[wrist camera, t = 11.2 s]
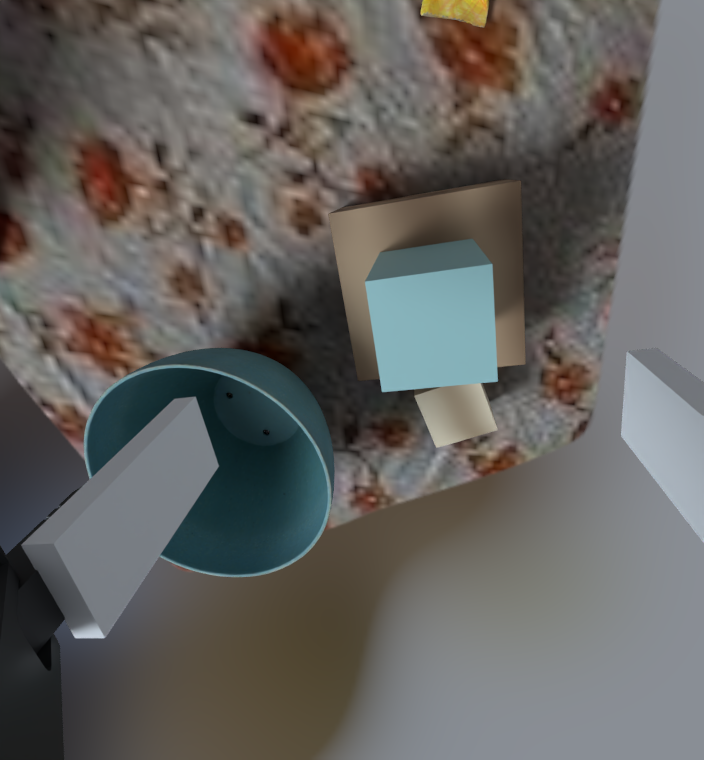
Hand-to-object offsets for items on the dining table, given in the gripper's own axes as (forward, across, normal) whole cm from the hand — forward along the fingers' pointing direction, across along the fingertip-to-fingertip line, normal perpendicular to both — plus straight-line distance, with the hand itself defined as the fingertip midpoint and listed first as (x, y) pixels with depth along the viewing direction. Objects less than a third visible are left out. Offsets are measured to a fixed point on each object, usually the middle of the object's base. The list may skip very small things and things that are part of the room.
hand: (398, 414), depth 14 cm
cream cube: (+25, +2, -11) cm, 27 cm away
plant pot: (+25, -16, -11) cm, 31 cm away
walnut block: (+25, +2, -1) cm, 25 cm away
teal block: (+19, +1, -1) cm, 19 cm away
